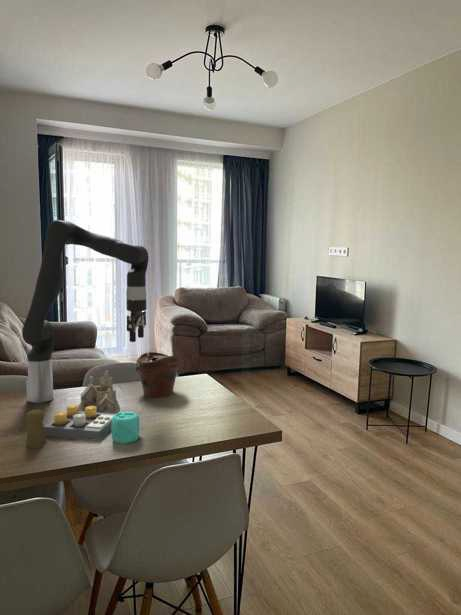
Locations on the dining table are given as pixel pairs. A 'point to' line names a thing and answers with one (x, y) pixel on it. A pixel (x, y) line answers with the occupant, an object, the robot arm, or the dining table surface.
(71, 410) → the amber button
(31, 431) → the olive rounded cylinder
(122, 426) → the decorative dice
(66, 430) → the button board
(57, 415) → the amber button
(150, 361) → the brown tapered round container
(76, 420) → the white button
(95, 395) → the ceramic cottage
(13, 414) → the dining table surface
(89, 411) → the amber button
